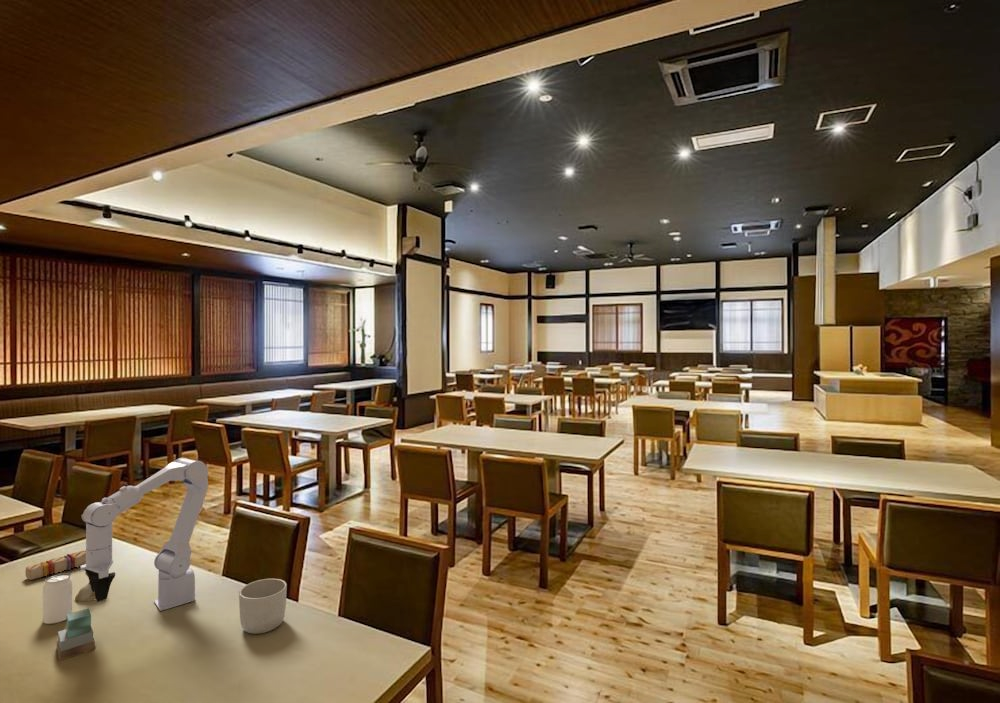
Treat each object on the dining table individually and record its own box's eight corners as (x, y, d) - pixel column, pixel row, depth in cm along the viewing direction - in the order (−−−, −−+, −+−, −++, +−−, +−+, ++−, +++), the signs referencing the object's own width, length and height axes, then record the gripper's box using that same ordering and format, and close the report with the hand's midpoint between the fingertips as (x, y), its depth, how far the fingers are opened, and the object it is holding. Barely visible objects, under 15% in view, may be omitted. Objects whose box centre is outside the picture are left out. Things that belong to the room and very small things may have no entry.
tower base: (90, 639, 138) (90, 630, 138) (94, 650, 133) (95, 641, 133) (56, 650, 133) (56, 641, 133) (59, 662, 128) (59, 652, 128)
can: (54, 626, 144) (55, 584, 144) (36, 623, 145) (36, 581, 145) (77, 614, 150) (78, 574, 150) (60, 611, 151) (60, 571, 151)
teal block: (88, 624, 137) (88, 608, 137) (90, 631, 133) (91, 614, 133) (66, 631, 133) (66, 614, 133) (68, 638, 130) (68, 620, 130)
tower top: (89, 631, 138) (89, 622, 138) (93, 641, 133) (93, 632, 133) (57, 641, 133) (58, 631, 133) (60, 651, 129) (60, 641, 129)
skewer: (30, 583, 169) (30, 568, 169) (24, 578, 172) (24, 563, 172) (105, 561, 186) (105, 548, 186) (97, 557, 190) (97, 544, 190)
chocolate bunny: (97, 601, 157) (97, 569, 157) (72, 601, 158) (72, 569, 157) (111, 593, 163) (111, 562, 163) (87, 592, 163) (87, 561, 163)
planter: (293, 625, 146) (294, 588, 146) (248, 643, 137) (249, 603, 136) (275, 610, 154) (275, 574, 154) (231, 626, 145) (232, 588, 145)
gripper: (77, 543, 143) (77, 591, 143) (84, 558, 133) (84, 610, 133) (108, 536, 148) (108, 582, 148) (118, 551, 138) (118, 600, 138)
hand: (99, 595), depth 141 cm, fingers open, 7 cm apart
